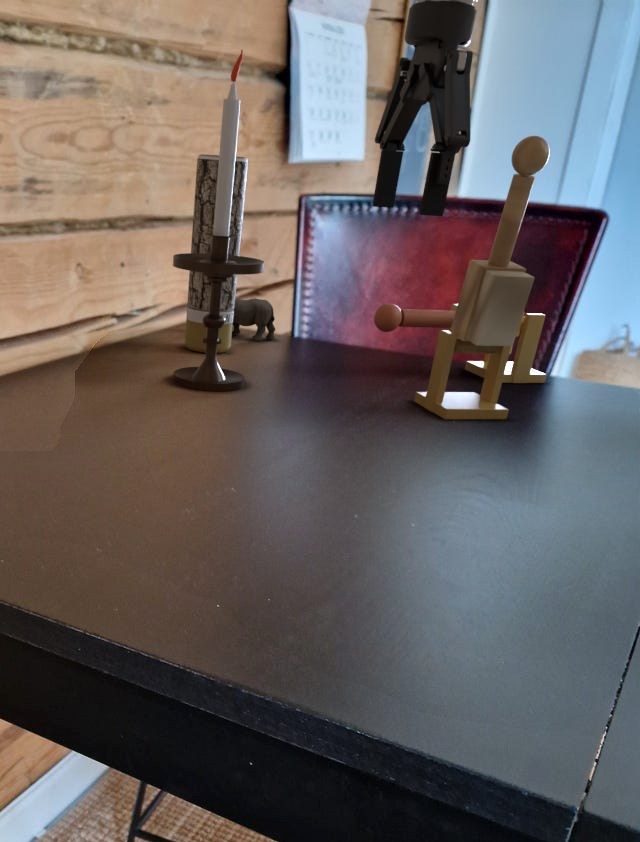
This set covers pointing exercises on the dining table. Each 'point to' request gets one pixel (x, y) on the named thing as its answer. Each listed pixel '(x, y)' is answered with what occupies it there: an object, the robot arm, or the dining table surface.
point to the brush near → (500, 267)
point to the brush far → (418, 318)
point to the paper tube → (202, 244)
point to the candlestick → (218, 258)
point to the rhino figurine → (254, 317)
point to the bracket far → (519, 355)
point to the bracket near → (464, 402)
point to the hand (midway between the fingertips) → (405, 211)
